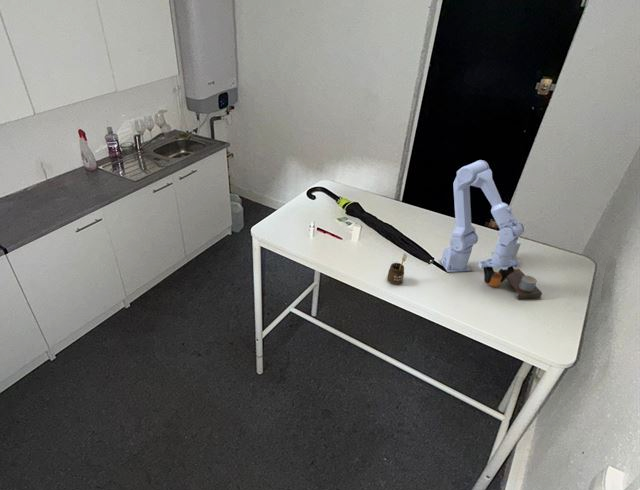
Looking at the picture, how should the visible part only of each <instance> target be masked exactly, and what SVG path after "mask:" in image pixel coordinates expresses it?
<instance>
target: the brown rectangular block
mask: <svg viewBox="0 0 640 490" xmlns="http://www.w3.org/2000/svg"><path fill="white" fill-rule="evenodd" d="M514 269H515V270H514V272H512V273H511V274H509V275H508V276H507V277H506V278H505V279H504V280H506V281H507V282H508V283H509V285H510V286H511V287H512V288H513V289H514V290H515V291H516V292H517V293H518V294H517V296H516V299H518V300H533V299H541V297H542V295H543V292H542V291H541V289H540V288H539V287H537V286H536V285H535V287H534V290H533V291H530V292H528V291H524V290H522V289H520V288H519V284H520V281H521V279H522V277H523V276H526V274H525V273H524V272H523V271H522V270H521V269H520V268H514ZM498 272H499V273H500V269H499V270H498Z"/></svg>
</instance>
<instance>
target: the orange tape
mask: <svg viewBox="0 0 640 490" xmlns="http://www.w3.org/2000/svg"><path fill="white" fill-rule="evenodd" d="M494 272H495V273H494V274H493V275H492V277H491V279H490V282H489V283H486V284H487V285H488V286H490V287H500V284H501V283H500V282H501V280H502V277H503V276H502V274H500V273H499V271H496V270H494Z"/></svg>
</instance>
